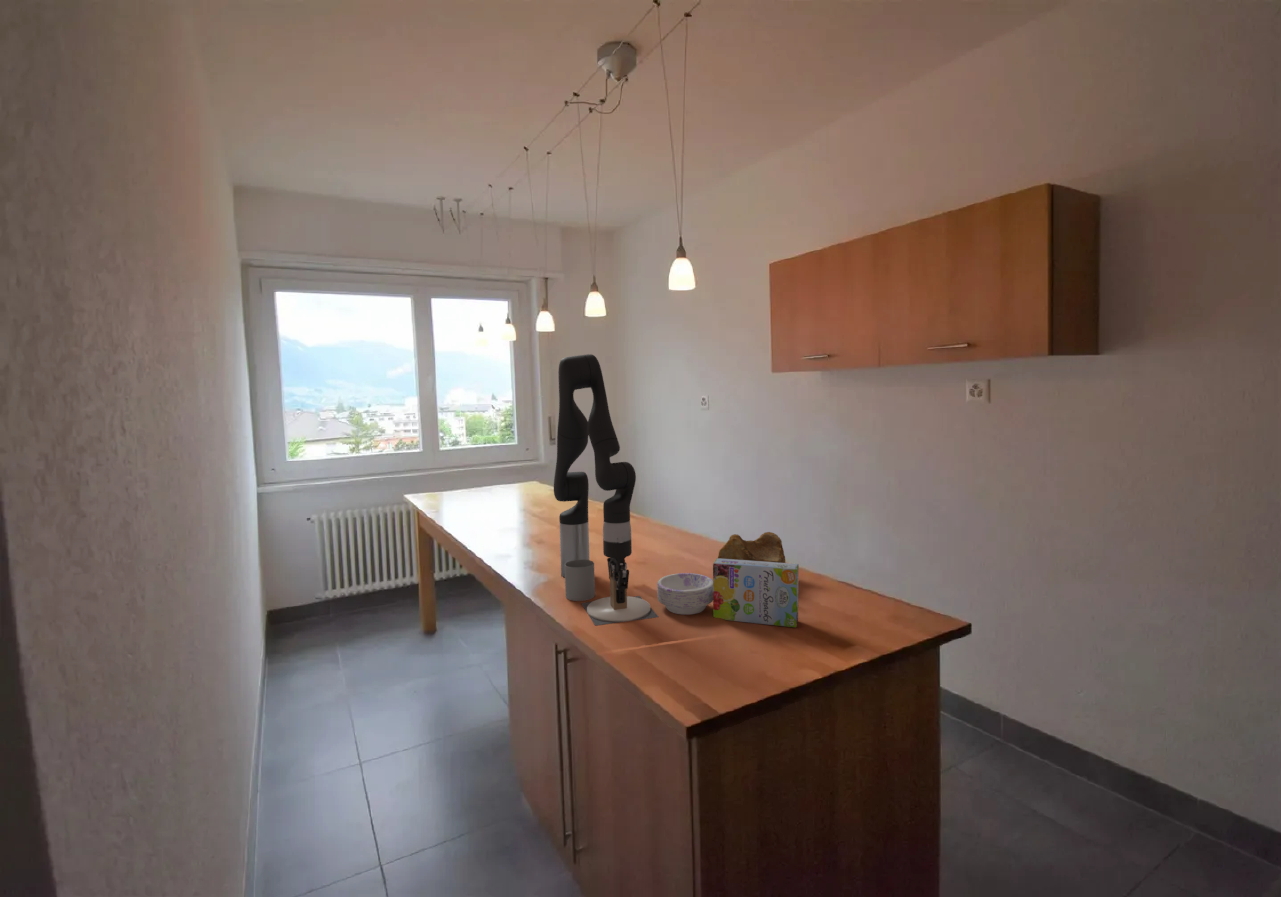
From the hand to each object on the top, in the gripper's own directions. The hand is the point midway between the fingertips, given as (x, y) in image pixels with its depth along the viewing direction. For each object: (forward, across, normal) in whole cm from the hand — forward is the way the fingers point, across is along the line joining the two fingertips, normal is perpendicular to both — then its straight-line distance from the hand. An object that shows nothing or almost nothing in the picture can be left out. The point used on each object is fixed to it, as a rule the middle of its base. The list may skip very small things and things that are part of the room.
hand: (618, 600), depth 165 cm
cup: (+3, -14, -8) cm, 17 cm away
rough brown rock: (+3, -8, +46) cm, 46 cm away
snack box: (+3, +18, +32) cm, 36 cm away
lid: (+3, 0, 0) cm, 3 cm away
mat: (+3, 0, 0) cm, 3 cm away
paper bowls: (+3, +4, +18) cm, 18 cm away
